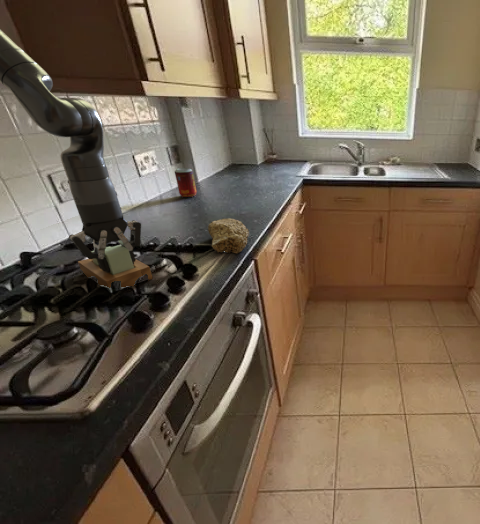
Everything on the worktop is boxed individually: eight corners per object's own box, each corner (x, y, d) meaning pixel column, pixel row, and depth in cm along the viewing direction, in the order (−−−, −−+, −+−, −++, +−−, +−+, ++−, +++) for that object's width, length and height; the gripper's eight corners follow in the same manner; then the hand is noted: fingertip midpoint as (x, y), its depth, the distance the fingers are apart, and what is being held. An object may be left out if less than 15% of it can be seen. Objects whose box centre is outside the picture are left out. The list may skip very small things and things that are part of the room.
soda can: (181, 194, 153) (175, 167, 148) (198, 194, 155) (193, 167, 150) (178, 198, 147) (172, 170, 142) (196, 198, 149) (190, 170, 144)
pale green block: (114, 278, 78) (106, 255, 75) (106, 272, 80) (98, 250, 78) (135, 271, 81) (128, 249, 79) (126, 266, 83) (119, 244, 81)
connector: (110, 294, 76) (106, 281, 75) (82, 273, 84) (77, 261, 83) (152, 278, 83) (149, 266, 81) (122, 261, 91) (119, 249, 89)
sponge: (251, 257, 99) (253, 222, 114) (242, 236, 94) (245, 202, 109) (206, 267, 97) (214, 230, 112) (194, 246, 92) (205, 211, 107)
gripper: (124, 190, 80) (143, 254, 87) (48, 202, 69) (77, 274, 77) (139, 195, 76) (158, 261, 84) (61, 209, 65) (90, 284, 73)
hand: (119, 267), depth 80 cm, fingers closed on pale green block, 4 cm apart
